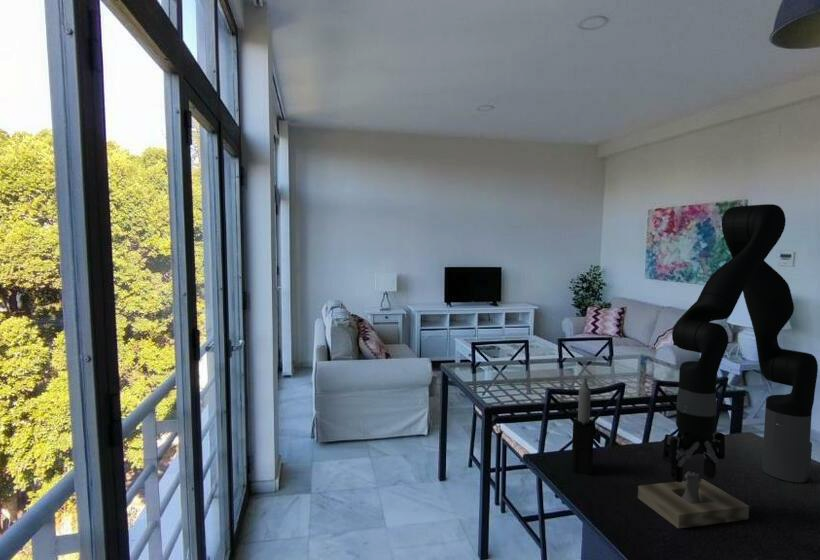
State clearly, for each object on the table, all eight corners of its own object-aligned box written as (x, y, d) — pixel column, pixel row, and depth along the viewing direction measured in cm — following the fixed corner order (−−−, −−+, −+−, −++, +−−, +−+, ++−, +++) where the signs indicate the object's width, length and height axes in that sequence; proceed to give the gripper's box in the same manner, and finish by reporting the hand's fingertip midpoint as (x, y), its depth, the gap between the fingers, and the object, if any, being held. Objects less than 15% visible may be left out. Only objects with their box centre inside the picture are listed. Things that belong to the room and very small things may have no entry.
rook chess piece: (706, 515, 98) (708, 480, 98) (684, 512, 99) (686, 477, 99) (697, 504, 102) (699, 470, 102) (676, 501, 103) (678, 468, 103)
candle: (592, 467, 120) (596, 376, 118) (591, 476, 115) (595, 381, 114) (572, 463, 122) (575, 374, 120) (570, 471, 117) (574, 378, 116)
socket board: (701, 490, 108) (702, 478, 108) (748, 519, 97) (749, 506, 97) (637, 497, 105) (638, 485, 105) (678, 528, 93) (679, 514, 93)
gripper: (708, 401, 105) (705, 468, 106) (656, 405, 102) (653, 473, 103) (737, 412, 97) (734, 484, 98) (682, 417, 94) (679, 490, 95)
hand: (692, 478), depth 100 cm, fingers open, 8 cm apart
